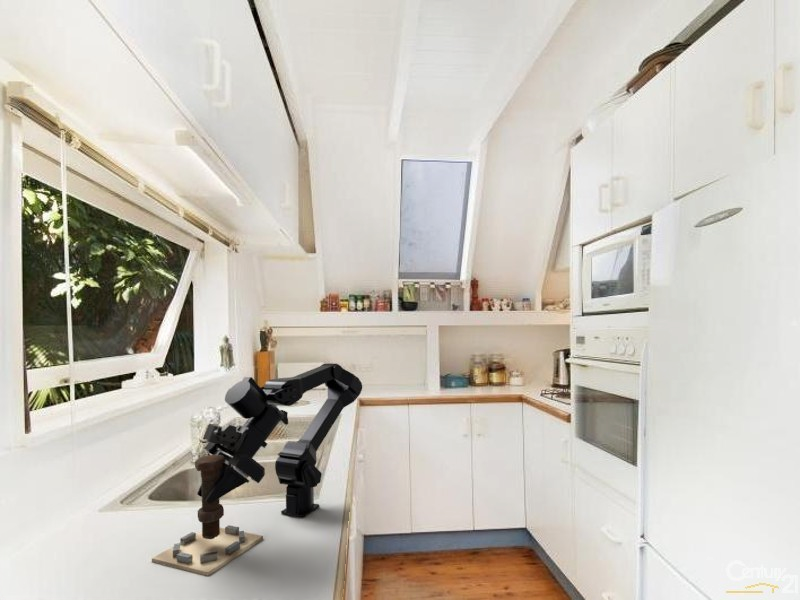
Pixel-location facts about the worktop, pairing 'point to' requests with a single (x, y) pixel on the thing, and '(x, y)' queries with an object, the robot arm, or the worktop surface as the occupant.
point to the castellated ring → (210, 556)
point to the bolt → (215, 510)
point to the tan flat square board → (207, 546)
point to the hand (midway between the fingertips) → (203, 498)
